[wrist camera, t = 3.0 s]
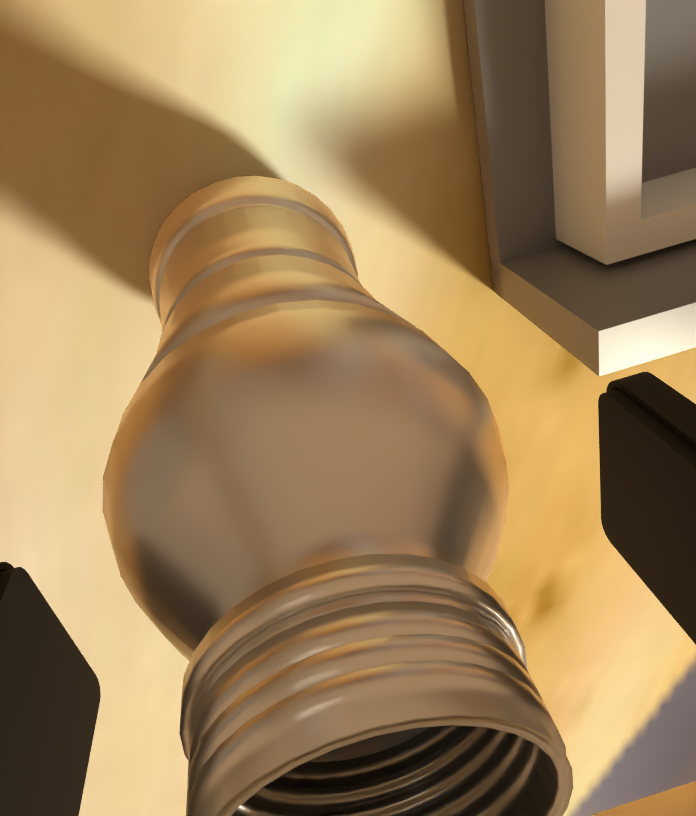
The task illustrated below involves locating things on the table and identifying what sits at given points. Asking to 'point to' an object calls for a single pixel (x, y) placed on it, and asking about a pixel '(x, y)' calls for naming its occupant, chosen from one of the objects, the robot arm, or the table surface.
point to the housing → (590, 169)
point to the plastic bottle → (320, 533)
